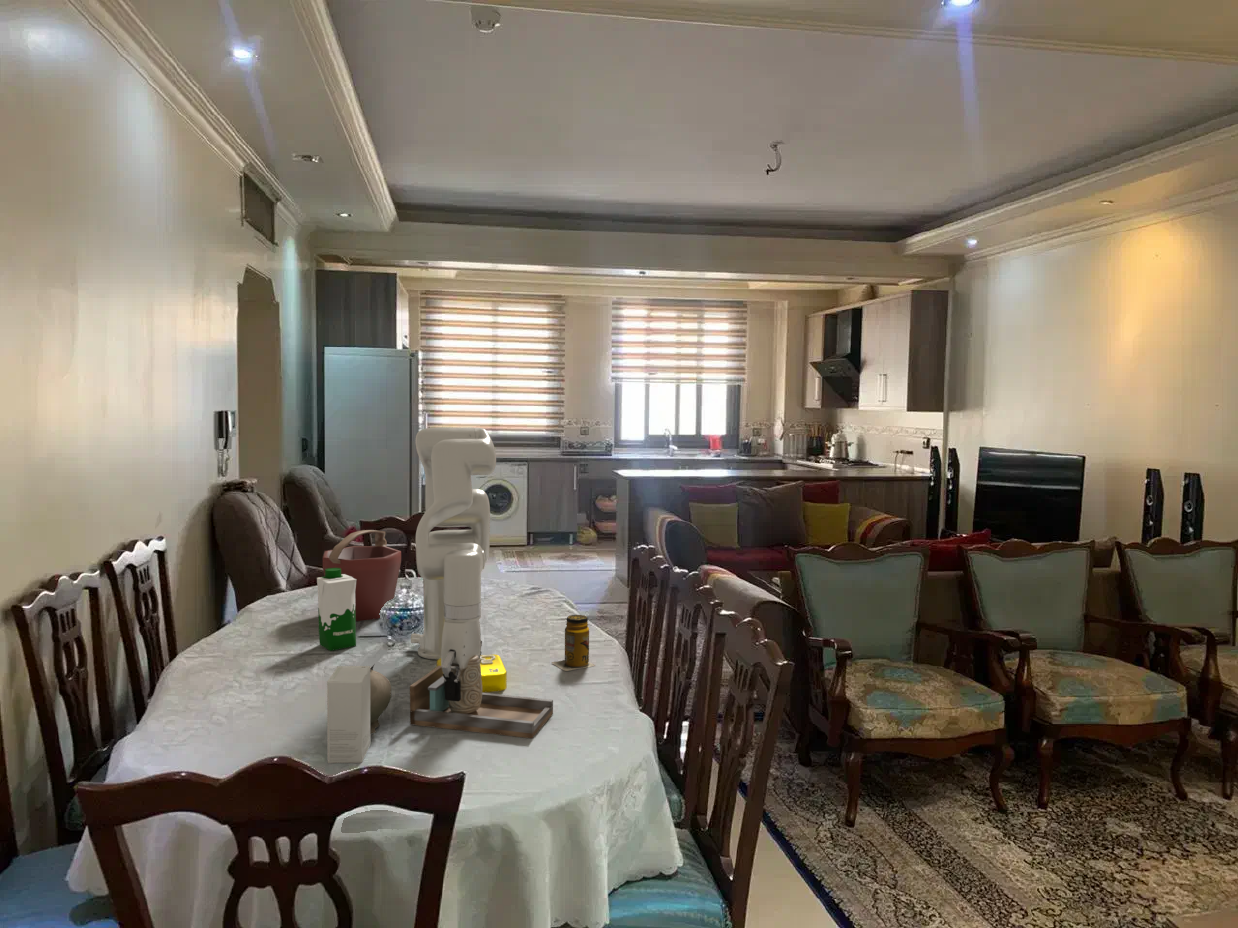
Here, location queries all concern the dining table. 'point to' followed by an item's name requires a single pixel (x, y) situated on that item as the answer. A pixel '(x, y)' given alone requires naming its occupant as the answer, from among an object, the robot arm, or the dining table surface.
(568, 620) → the condiment
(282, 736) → the dining table surface
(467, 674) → the carving
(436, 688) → the pusher plate
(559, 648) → the dining table surface
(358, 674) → the skincare box
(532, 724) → the pusher lane
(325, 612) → the milk carton
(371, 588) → the bucket
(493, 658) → the yellow rounded box
